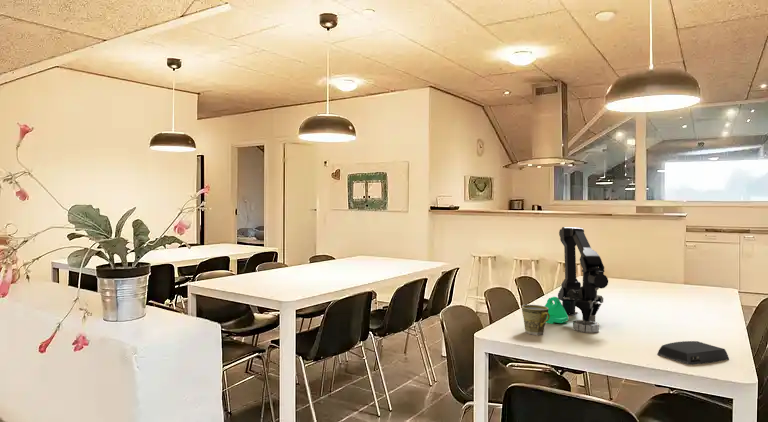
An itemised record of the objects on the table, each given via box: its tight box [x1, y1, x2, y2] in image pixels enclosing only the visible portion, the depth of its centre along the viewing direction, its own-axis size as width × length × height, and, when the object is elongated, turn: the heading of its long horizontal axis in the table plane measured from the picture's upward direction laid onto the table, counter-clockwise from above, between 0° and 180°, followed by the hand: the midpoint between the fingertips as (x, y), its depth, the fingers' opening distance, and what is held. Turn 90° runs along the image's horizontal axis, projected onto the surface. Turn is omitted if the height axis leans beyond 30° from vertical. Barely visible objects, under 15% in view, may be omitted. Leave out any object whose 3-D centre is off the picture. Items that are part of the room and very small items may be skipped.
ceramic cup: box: [521, 304, 550, 336], centre depth 200 cm, size 13×10×10 cm
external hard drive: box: [657, 340, 730, 366], centre depth 175 cm, size 13×19×4 cm
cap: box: [581, 315, 596, 322], centre depth 217 cm, size 5×5×4 cm
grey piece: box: [572, 319, 600, 334], centre depth 208 cm, size 10×10×3 cm
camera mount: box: [544, 296, 569, 325], centre depth 222 cm, size 12×8×10 cm, turn 50°
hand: (588, 321), depth 217 cm, fingers open, 7 cm apart
